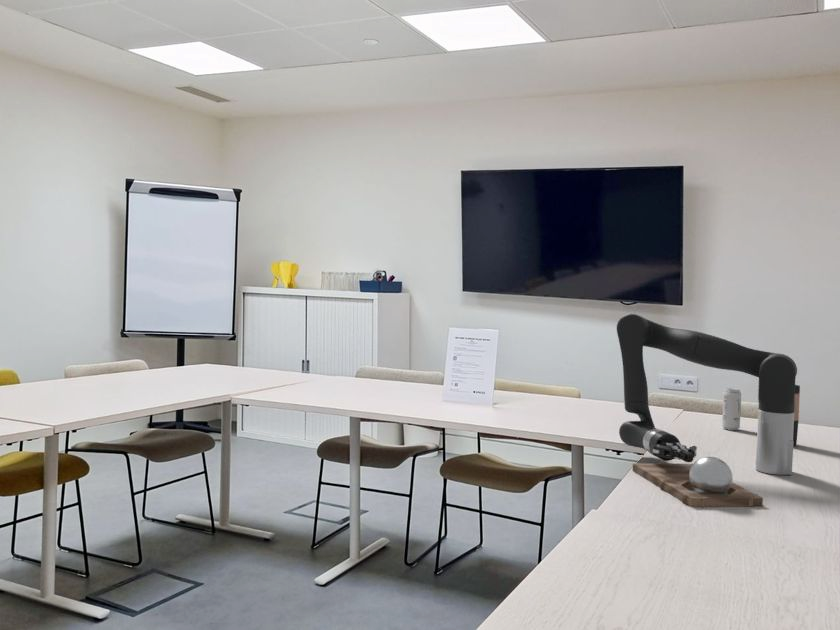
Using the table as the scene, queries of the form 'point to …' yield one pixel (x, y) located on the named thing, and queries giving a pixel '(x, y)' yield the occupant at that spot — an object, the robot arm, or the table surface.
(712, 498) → the wooden board
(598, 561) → the table surface
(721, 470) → the steel ball
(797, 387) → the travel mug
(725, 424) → the energy drink can
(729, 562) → the table surface
